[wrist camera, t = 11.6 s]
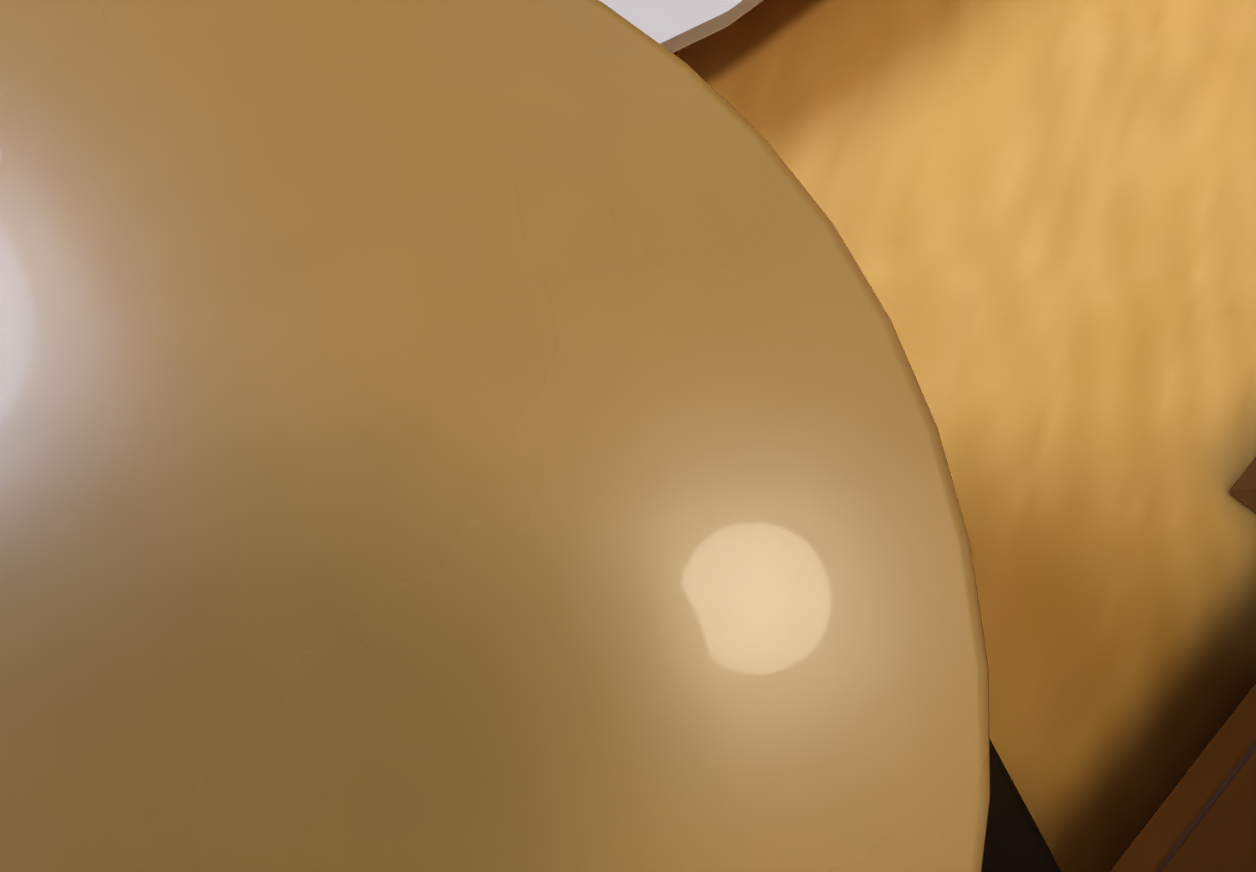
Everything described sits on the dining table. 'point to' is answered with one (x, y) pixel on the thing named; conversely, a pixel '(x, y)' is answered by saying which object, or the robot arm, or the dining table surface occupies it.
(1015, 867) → the robot arm
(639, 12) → the plated food
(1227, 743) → the drawer
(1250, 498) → the brown box
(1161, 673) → the dining table surface
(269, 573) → the tea tin
